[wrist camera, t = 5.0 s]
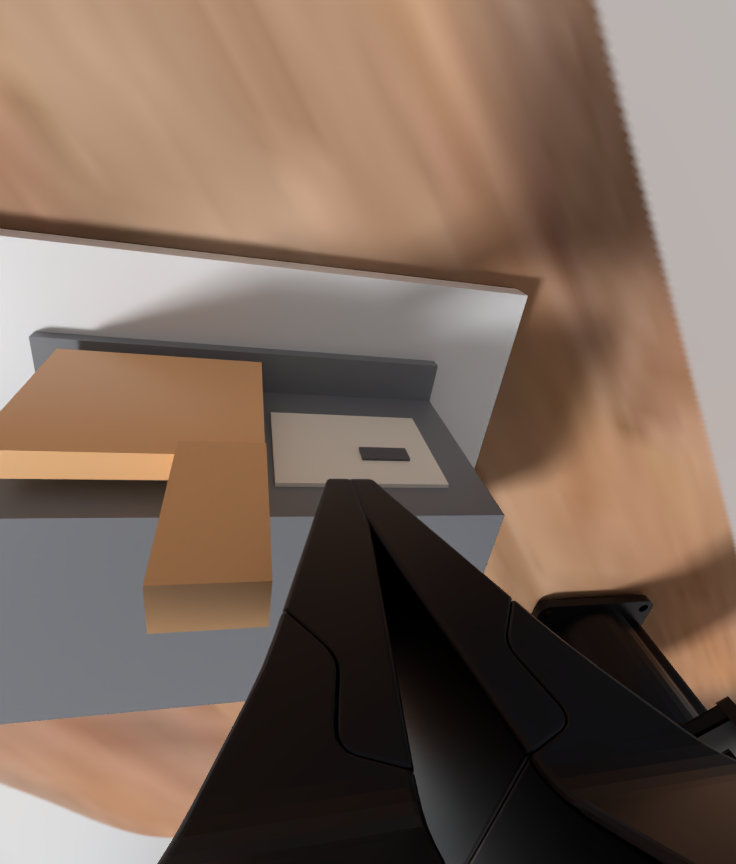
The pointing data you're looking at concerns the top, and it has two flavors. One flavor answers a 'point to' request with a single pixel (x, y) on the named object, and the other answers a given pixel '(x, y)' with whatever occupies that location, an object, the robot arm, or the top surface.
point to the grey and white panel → (284, 436)
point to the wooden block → (162, 469)
